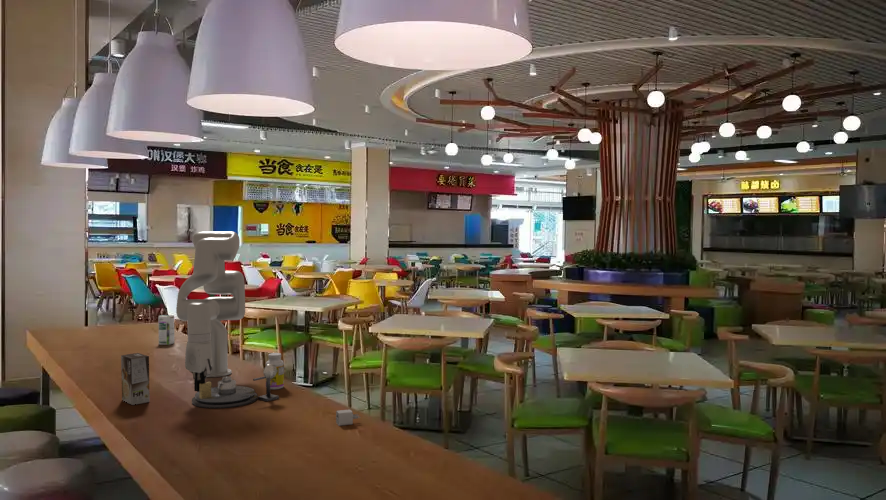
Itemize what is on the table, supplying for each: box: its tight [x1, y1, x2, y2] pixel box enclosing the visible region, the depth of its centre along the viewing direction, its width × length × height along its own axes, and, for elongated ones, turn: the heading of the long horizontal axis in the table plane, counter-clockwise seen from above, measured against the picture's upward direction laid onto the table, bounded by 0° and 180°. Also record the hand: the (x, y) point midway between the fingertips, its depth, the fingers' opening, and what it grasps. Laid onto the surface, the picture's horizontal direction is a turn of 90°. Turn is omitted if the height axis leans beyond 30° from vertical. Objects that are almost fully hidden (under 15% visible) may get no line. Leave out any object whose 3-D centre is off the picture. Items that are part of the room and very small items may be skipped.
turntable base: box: [191, 392, 259, 409], centre depth 241 cm, size 22×22×1 cm
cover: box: [217, 375, 237, 395], centre depth 240 cm, size 6×6×6 cm
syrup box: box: [157, 314, 175, 346], centre depth 347 cm, size 6×6×14 cm
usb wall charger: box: [335, 409, 361, 427], centre depth 214 cm, size 4×7×4 cm, turn 112°
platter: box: [194, 381, 256, 404], centre depth 240 cm, size 20×20×6 cm
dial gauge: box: [252, 364, 280, 403], centre depth 240 cm, size 5×9×12 cm, turn 143°
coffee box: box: [120, 352, 151, 406], centre depth 238 cm, size 9×6×16 cm
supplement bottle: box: [265, 352, 285, 391], centre depth 258 cm, size 7×7×13 cm
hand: (199, 390), depth 237 cm, fingers closed
